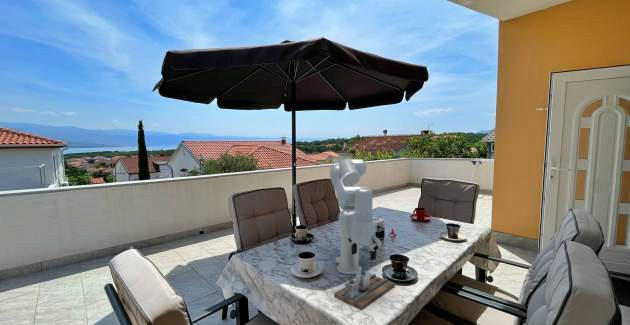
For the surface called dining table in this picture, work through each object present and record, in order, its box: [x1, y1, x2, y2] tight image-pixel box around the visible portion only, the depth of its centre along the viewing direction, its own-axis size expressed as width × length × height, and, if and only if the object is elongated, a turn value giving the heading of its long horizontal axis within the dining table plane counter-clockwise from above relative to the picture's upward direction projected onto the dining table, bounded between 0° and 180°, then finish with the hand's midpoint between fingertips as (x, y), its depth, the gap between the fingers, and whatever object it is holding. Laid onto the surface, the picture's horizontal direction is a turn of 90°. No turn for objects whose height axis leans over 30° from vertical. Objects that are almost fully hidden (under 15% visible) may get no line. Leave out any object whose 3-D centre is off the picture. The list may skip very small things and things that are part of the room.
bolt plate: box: [333, 273, 396, 311], centre depth 122 cm, size 14×26×8 cm, turn 135°
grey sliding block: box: [355, 269, 371, 291], centre depth 121 cm, size 4×5×8 cm
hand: (363, 256), depth 119 cm, fingers open, 9 cm apart
